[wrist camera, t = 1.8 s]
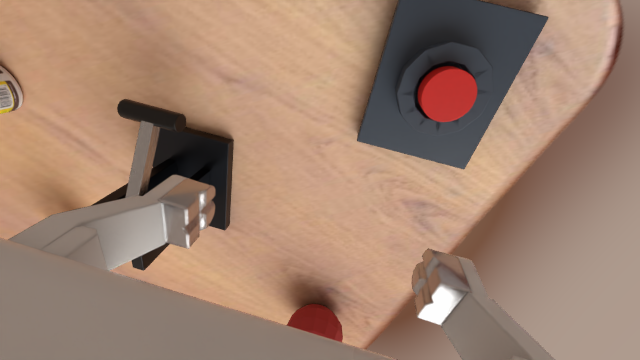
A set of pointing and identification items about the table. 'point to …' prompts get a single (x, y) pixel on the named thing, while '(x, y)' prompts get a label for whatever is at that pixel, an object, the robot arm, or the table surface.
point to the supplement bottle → (9, 92)
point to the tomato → (317, 321)
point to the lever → (147, 139)
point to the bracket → (189, 173)
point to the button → (447, 93)
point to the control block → (437, 51)
